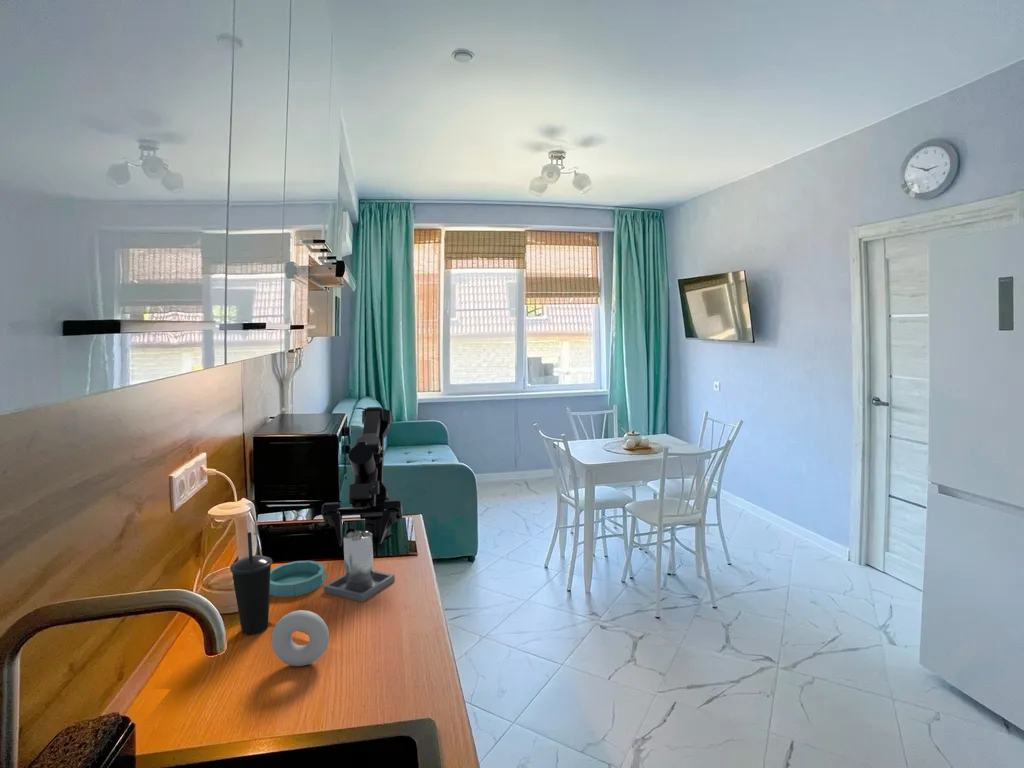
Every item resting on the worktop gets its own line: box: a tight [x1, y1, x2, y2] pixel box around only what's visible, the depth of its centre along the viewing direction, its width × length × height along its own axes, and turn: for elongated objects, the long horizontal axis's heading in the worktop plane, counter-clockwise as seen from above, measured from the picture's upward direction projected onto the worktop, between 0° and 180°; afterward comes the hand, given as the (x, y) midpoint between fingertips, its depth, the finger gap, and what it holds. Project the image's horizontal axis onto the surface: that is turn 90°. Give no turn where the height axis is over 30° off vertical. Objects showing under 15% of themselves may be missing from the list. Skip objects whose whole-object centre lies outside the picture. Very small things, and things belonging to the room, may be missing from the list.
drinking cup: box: [229, 532, 273, 636], centre depth 110 cm, size 8×8×20 cm
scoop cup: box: [342, 529, 375, 593], centre depth 127 cm, size 6×6×13 cm
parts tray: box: [323, 570, 396, 603], centre depth 127 cm, size 11×11×2 cm
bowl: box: [269, 560, 327, 598], centre depth 129 cm, size 13×13×4 cm
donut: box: [270, 609, 330, 667], centre depth 98 cm, size 10×4×10 cm, turn 94°
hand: (360, 544), depth 129 cm, fingers open, 9 cm apart
